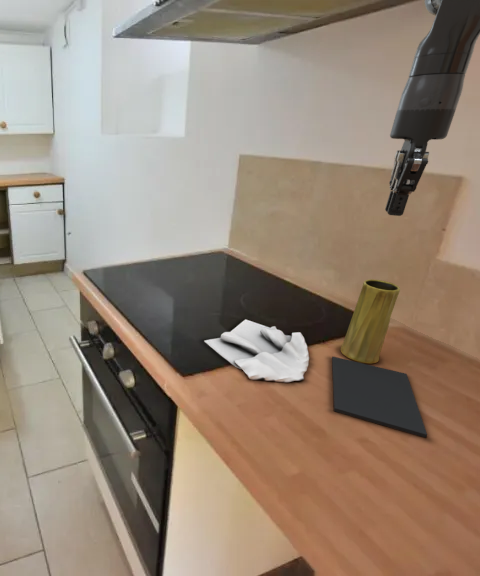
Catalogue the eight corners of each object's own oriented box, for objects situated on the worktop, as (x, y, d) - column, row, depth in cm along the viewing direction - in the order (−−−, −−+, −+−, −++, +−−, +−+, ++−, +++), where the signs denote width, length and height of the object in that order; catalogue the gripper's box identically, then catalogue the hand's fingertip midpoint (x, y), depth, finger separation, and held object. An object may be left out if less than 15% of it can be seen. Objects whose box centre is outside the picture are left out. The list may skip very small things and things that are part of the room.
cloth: (249, 390, 61) (252, 378, 60) (189, 326, 81) (191, 316, 80) (354, 373, 66) (358, 362, 65) (273, 316, 85) (275, 307, 84)
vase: (348, 362, 69) (371, 290, 63) (334, 344, 74) (354, 277, 69) (385, 365, 68) (411, 293, 62) (368, 347, 73) (391, 279, 68)
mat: (405, 376, 65) (406, 373, 65) (426, 438, 52) (427, 434, 52) (331, 358, 70) (332, 356, 70) (333, 411, 57) (334, 408, 57)
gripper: (469, 105, 54) (427, 223, 61) (444, 109, 66) (411, 209, 72) (405, 106, 58) (372, 218, 65) (391, 109, 69) (365, 205, 76)
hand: (393, 213), depth 68 cm, fingers closed
